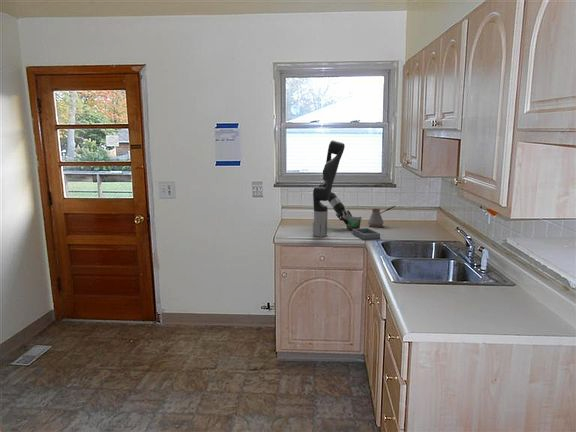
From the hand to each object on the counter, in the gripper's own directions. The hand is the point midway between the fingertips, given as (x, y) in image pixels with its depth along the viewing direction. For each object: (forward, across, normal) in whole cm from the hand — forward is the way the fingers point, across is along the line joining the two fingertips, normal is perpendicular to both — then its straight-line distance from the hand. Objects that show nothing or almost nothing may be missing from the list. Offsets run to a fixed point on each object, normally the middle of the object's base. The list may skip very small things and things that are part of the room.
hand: (350, 223), depth 313 cm
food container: (+5, 0, +2) cm, 5 cm away
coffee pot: (+11, +27, -3) cm, 29 cm away
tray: (+17, -9, -11) cm, 22 cm away
